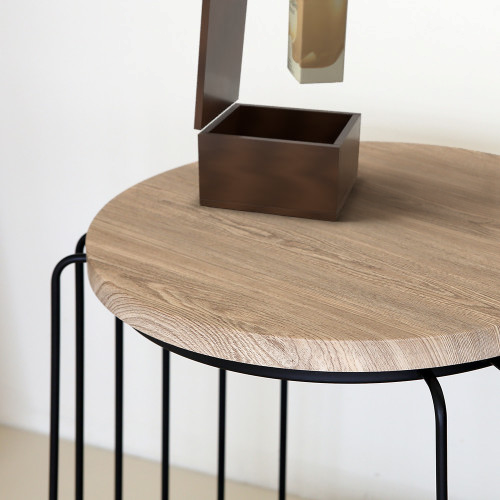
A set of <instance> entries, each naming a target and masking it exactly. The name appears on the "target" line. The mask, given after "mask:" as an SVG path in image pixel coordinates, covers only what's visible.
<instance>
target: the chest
mask: <svg viewBox="0 0 500 500" xmlns="http://www.w3.org/2000/svg"><path fill="white" fill-rule="evenodd" d="M361 125H362V113H361V112H353V111H352V112H351V111H340V110H339V111H337V110H326V109H315V108H303V107H301V108H300V107H289V106H278V105H265V104H255V103H253V104H252V103H241V102H235V103H233V104H232V105H231V106H230V107H229V108H227V109H226V110H225V111H224V112H223V113H221V114H220V115H219V116H218V117H216V118H215V119H214V120H213V121H212V122H210V123H209V124H208V125H207V126H206V127H204V128H203V129H202V130H200V132H198V133H197V163H198V167H197V168H198V197H199V199H198V200H199V206H202V207H210V208H220V209H228V210H236V211H242V212H243V211H245V212H252V213H253V212H254V213H262V214H270V215H276V216H277V215H278V216H287V217H295V218H303V219H312V220H319V221H328V222H336V221H337V219H338V218H339V216H340V214H341V213H342V210H343V208H344V206H345V204H346V202H347V200H348V198H349V197H350V194H351V193H352V190H353V188H354V186H355V185H356V183H357V181H358V174H359V158H360V145H361V144H360V143H361V142H360V141H361V128H362V127H361Z"/></svg>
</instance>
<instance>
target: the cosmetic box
mask: <svg viewBox="0 0 500 500" xmlns="http://www.w3.org/2000/svg"><path fill="white" fill-rule="evenodd" d="M348 7H349V0H288V23H287V24H288V25H287V27H288V28H287V33H288V34H287V59H286V61H287V62H286V63H287V66H286V67H287V70H288V71H289V72H290V74H291V75H292V77H293V78H294V79H295V80H296V81H297V82H298V84H300V85H314V84H335V83H344V77H345V55H346V41H347V40H346V39H347V27H348V26H347V25H348Z"/></svg>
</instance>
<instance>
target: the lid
mask: <svg viewBox="0 0 500 500" xmlns="http://www.w3.org/2000/svg"><path fill="white" fill-rule="evenodd" d="M247 10H248V0H201V10H200V11H201V13H200V28H199V44H198V57H197V58H198V59H197V70H196V71H197V73H196V86H195V87H196V89H195V102H194V103H195V104H194V119H193V130H197V131H202V130H203V129H205V128H206V127H207V126H208V125H209V124H211V123H212V122H213V121H214V120H215V119H217V118H218V117H219V116H220V115H221V114H223V113H224V112H225V111H226V110H228V109H229V108H230V107H231V106H232V105H234V104H235V103H237V101H238V100H239V97H240V87H241V76H242V66H243V65H242V64H243V56H244V55H243V53H244V43H245V31H246V20H247V12H248V11H247Z"/></svg>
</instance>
